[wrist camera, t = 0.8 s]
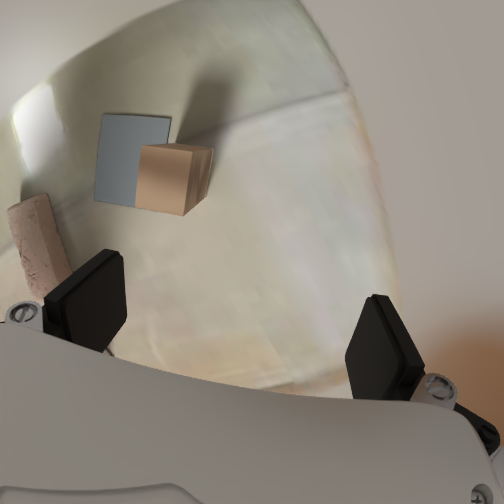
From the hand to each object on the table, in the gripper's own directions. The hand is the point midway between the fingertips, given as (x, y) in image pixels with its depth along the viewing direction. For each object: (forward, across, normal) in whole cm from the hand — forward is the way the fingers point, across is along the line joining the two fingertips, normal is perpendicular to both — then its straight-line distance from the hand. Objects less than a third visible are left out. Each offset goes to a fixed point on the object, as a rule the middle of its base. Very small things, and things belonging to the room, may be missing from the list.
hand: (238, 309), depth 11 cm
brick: (+26, +34, +13) cm, 45 cm away
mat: (+26, +18, -1) cm, 32 cm away
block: (+27, +10, -1) cm, 28 cm away
